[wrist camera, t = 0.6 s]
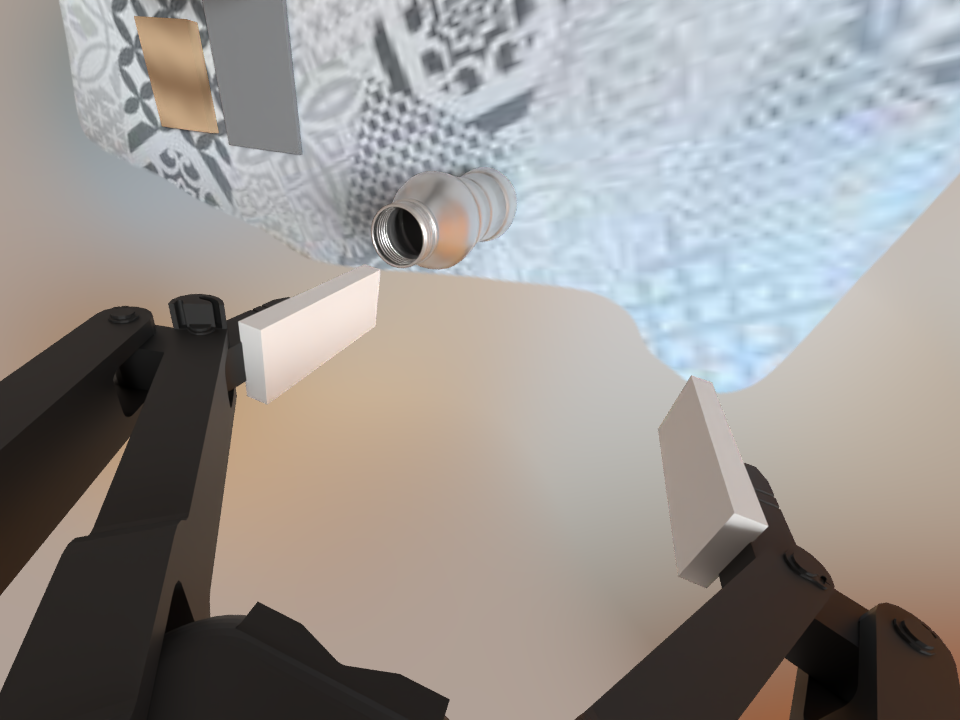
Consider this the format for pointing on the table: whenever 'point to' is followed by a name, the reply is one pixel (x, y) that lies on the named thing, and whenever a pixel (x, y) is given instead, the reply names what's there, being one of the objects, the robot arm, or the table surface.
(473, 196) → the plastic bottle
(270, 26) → the mat
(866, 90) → the table surface
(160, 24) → the board
